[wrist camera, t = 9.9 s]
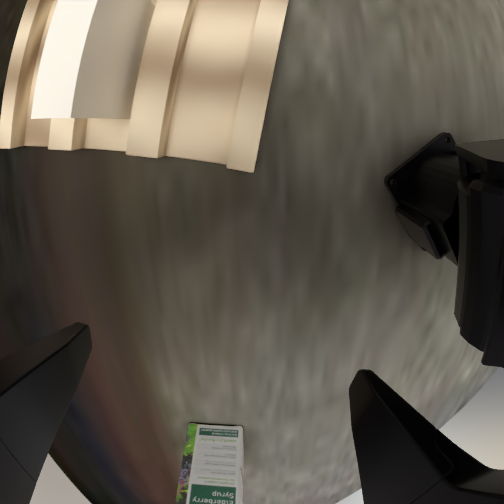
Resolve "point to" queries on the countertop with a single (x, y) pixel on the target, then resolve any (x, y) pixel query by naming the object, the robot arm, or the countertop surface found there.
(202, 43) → the slotted rack
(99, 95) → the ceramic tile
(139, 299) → the countertop surface
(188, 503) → the syrup box
